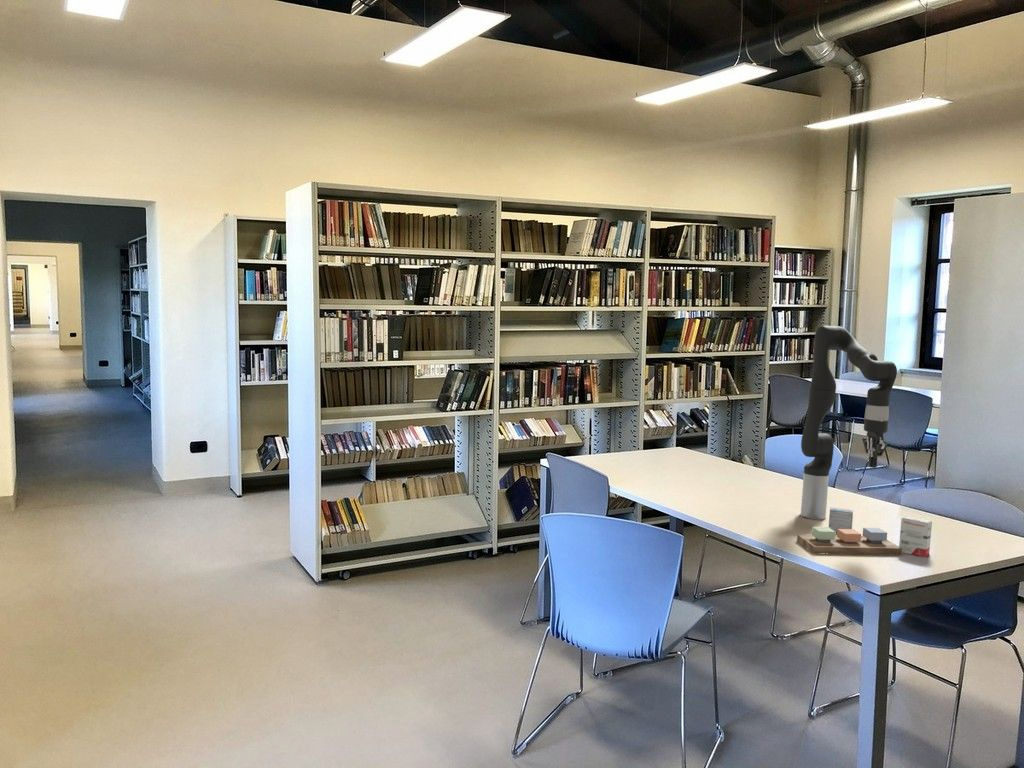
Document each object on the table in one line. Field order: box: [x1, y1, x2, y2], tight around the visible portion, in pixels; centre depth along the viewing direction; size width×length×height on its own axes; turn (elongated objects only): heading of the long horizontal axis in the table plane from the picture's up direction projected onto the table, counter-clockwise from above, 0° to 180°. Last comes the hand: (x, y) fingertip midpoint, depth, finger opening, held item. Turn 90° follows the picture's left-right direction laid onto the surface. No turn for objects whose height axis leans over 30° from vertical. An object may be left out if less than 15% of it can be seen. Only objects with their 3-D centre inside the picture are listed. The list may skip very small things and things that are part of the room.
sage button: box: [811, 526, 836, 540], centre depth 270 cm, size 6×6×3 cm
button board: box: [796, 534, 903, 556], centre depth 271 cm, size 14×30×4 cm, turn 92°
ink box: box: [898, 516, 933, 558], centre depth 267 cm, size 8×5×12 cm, turn 47°
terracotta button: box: [836, 528, 862, 542], centre depth 271 cm, size 6×6×3 cm
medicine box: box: [828, 506, 854, 534], centre depth 290 cm, size 8×4×9 cm, turn 66°
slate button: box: [862, 527, 888, 541], centre depth 271 cm, size 6×6×3 cm
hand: (872, 467), depth 276 cm, fingers closed
